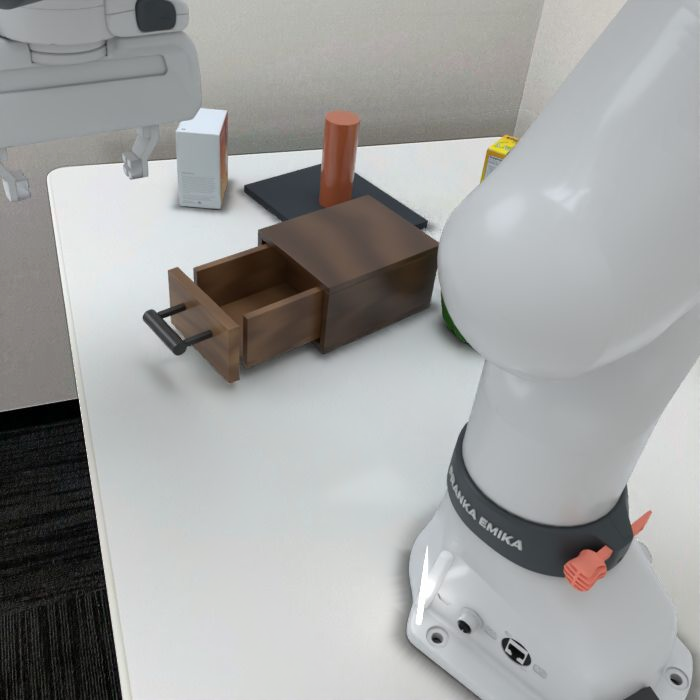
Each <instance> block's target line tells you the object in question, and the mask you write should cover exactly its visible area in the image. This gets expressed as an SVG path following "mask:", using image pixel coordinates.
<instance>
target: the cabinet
mask: <svg viewBox="0 0 700 700" xmlns="http://www.w3.org/2000/svg"><path fill="white" fill-rule="evenodd" d="M439 242H440V241H438V240H437V239H435V238H433V237H432V236H430V235H429V234H427V233H426V232H425V231H423V230H422V229H418V228H417V227H415V226H414V225H413V224H411V223H410V222H408V221H407V220H405V219H404V218H402V217H401V216H399V215H398V214H396V213H395V212H393V211H392V210H390V209H389V208H387V207H386V206H384V205H383V204H381V203H380V202H378V201H377V200H376V199H374V198H373V197H371V196H370V195H365V196H362V197H359V198H356V199H353V200H350V201H346V202H343V203H340V204H337V205H334V206H331V207H328V208H324V209H321V210H318V211H315V212H312V213H309V214H306V215H303V216H299V217H296V218H293V219H290V220H287V221H284V222H283V221H281V222H278V223H274V224H271V225H268V226H265V227H262V228H259V229H257V246H260V245H263V244H266V243H267V244H269V245H270V246H271V247H272V248H273V249H275V250H276V251H277V252H278V253H280V254H281V255H282V256H283V257H284V258H286V259H287V260H288V261H289V262H290V263H292V264H293V265H294V266H295V267H297V268H298V269H299V270H300V271H301V272H303V273H304V274H305V275H306V276H307V277H309V278H310V279H311V280H312V281H314V282H315V283H316V284H317V285H318V286H320V287H321V288H322V289H323V290H324V301H323V312H322V323H321V334H320V338H318V339H315V340H313V341H311V342H309V343H310V344H311V345H312V346H314V348H316V349H317V350H318V351H319V352H320V353H321V354H323V355H325V354H327V353H329V352H331V351H334V350H336V349H338V348H341V347H343V346H345V345H347V344H350V343H352V342H355V341H357V340H358V339H359V340H360V339H361V338H364V337H365V336H367V335H371V334H372V333H375V332H378V331H379V330H381V329H384V328H385V327H388V326H390V325H392V324H395V323H397V322H399V321H402V320H403V319H405V318H408V317H411V316H413V315H415V314H417V313H419V312H421V311H424V310H426V309H428V308H430V306H431V302H432V296H433V291H434V286H435V282H436V277H437V273H438V268H437V256H438V247H439Z"/></svg>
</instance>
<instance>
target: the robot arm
mask: <svg viewBox="0 0 700 700" xmlns="http://www.w3.org/2000/svg"><path fill="white" fill-rule="evenodd" d="M189 22H190V9H189V6H188V4H187V2H186V1H185V0H0V178H1V180H2V185H3V190H4V192H5V196H6V197H7V200H9V202H10V203H14V202H20V201H25V200H29V199H31V198H32V194H31V191H30V190H29V189H30V183H29V182H30V181H29V179H28V177H27V175H25V173H24V172H23V170H22V169H18V170H11V171H10V170H9V168H8V167H7V166H6V165H5V164H4V163H3V162H7V161H8V160H9V155H8V151H7V149H8V148H15V147H20V146H28V145H35V144H41V143H47V142H48V143H49V142H55V141H61V140H67V139H74V138H80V137H87V136H94V135H100V134H108V133H114V132H121V131H126V130H134V131H135V132H136V133H137V136H136V138H135V141H134V143H133V145H132V148H131V151H130V150H129V151H126V152H125V151H124V152H121V155H122V156H121V157H122V158H121V159H122V162H123V165H122V168H123V173H124V175H125V176H126V177H128V179H129V180H130V181H132V180H138V179H144V178H149V174H150V173H149V161H148V159H150V156H151V155H152V153H153V151H154V149H155V147H156V146H157V143H158V141H159V139H160V138H161V135H160V125H167V124H173V123H174V124H175V123H180V122H181V121H188V120H192V119H193V118H194V117H195V116H196V114H197V113H198V111H199V109H200V108H202V105H203V104H202V103H203V92H202V91H203V90H202V89H203V88H202V77H201V76H202V75H201V69H200V63H199V61H200V60H199V56H198V55H199V54H198V51H197V48H196V44H195V43H194V41H193V38H191V36H190V35H189V34H188V33H186V32H185V31H184V30H186V29H187V27H188V26H189V24H190V23H189ZM519 139H520V140H519V141H518V142H517V143H516V145H515V146H514V147H513V148H512V150H511V151H510V152H509V153H508V155H507V156H506V157H505V158H504V159H503V160H502V161H501V162H500V163H499V165H498V166H497V167H496V168H495V169H494V170H493V171H492V172H491V173H490V174H489V175H488V176H487V177H486V178H485V179H484V180H483V181H482V182H481V183H480V182H479V183H478V185H477V186H475V187H474V189H473V190H471V192H470V193H469V194H467V195H466V197H465V198H463V199H462V201H461V202H459V204H457V206H456V207H455V208H454V209H453V211H451V214H450V215H449V216H448V218H447V220H446V222H445V224H444V226H443V229H442V230H441V234H440V237H439V241H438V242H439V247H438V256H437V277H438V284H439V288H440V294H441V293H442V296H443V299H444V303H445V305H446V308H447V310H448V313H449V315H450V316H451V318H452V320H453V322H454V324H455V325H456V327H457V329H458V330H459V332H460V333H461V334H462V336H463V337H464V338H465V339H466V341H467V342H468V343H467V342H466V343H467V344H469V346H471V347H472V349H474V351H475V352H477V353H478V354H479V355H480V356H481V357H482V358H484V363H483V366H482V369H481V374H480V377H479V381H478V384H477V387H476V392H475V396H474V399H473V403H472V408H471V410H470V414H469V418H468V421H467V422H465V424H464V425H463V427H462V428H461V430H460V432H459V434H458V436H457V438H456V439H457V440H456V442H455V446H454V448H453V452H452V455H451V458H450V462H449V465H448V469H447V474H446V490H445V493H444V495H443V498H442V500H441V501H440V503H439V506H438V508H437V509H436V511H435V513H434V515H433V517H432V518H431V519H430V521H429V522H428V523H427V524H426V525H425V527H423V528H422V530H421V531H420V533H419V534H418V535H417V537H416V539H415V541H414V543H413V544H412V548H411V550H410V555H409V561H408V577H409V583H410V584H409V585H410V590H411V595H412V605H411V608H410V611H409V615H408V618H407V623H406V637H407V639H408V641H409V642H410V643H411V644H412V645H413V646H414V647H415V648H416V649H417V650H419V651H420V652H421V653H422V654H424V655H425V656H426V657H428V658H429V659H430V660H431V661H432V662H434V663H435V664H436V665H438V666H439V667H440V668H441V669H443V670H444V671H445V672H446V673H448V674H449V675H450V676H452V677H453V678H454V679H455V680H457V682H458V683H460V684H461V685H463V687H465V688H466V689H467V690H469V691H470V692H472V693H473V694H474V695H475V696H476V697H478V698H479V699H480V700H686V698H687V696H688V694H689V692H690V688H691V685H692V680H693V672H694V662H693V655H692V653H691V652H690V650H689V649H688V647H687V646H686V645H685V644H684V643H683V641H682V640H681V639H680V638H679V637H678V634H677V632H678V628H679V627H678V625H679V622H678V621H679V619H678V610H677V607H676V604H675V602H674V599H672V597H671V595H670V594H669V592H668V590H667V589H666V588H665V586H664V584H663V583H662V582H661V579H660V578H659V576H658V574H657V573H656V572H655V569H654V568H653V566H652V563H653V557H652V554H651V551H650V550H649V548H648V547H647V546H646V544H644V543H643V542H642V541H639V540H637V539H636V538H635V537H636V536H637V535H638V534H639V533H641V532H642V531H643V530H644V528H645V526H646V525H647V523H648V521H649V519H650V518H651V516H652V513H653V511H652V510H647V511H646V512H645V513H644V514H643V515H641V516H639V518H638V519H636V520H635V521H634V522H633V523H631V520H630V504H629V490H628V482H629V479H630V478H631V476H632V474H633V472H634V469H635V468H636V466H637V463H638V462H639V460H640V458H641V456H642V454H643V452H644V450H645V447H646V446H647V444H648V441H649V440H650V438H651V435H652V434H653V432H654V430H655V428H656V426H657V424H658V423H659V421H660V419H661V416H662V415H663V413H664V412H665V410H666V408H667V407H668V405H669V404H670V402H671V401H672V399H673V397H674V396H675V394H676V393H677V391H678V390H679V388H680V387H681V386H682V384H683V382H684V381H685V379H686V377H687V376H688V375H689V373H690V371H691V370H692V369H693V367H694V365H696V363H697V361H698V359H699V358H700V0H626V2H625V3H624V4H623V6H622V7H621V8H620V9H619V11H618V12H617V13H616V14H615V16H614V17H613V18H612V19H611V21H609V23H608V24H607V26H606V27H605V28H604V29H603V31H602V32H601V33H600V34H599V36H598V37H596V39H595V40H594V42H593V43H592V44H591V46H589V48H588V49H587V51H585V53H584V54H583V55H582V57H581V58H580V59H579V61H577V63H576V64H575V66H574V67H573V68H572V69H571V71H570V73H569V74H568V75H567V76H566V78H564V80H563V81H562V83H561V84H560V85H559V87H558V88H557V90H556V91H555V93H554V94H553V95H552V96H551V98H550V99H549V101H548V102H547V103H546V104H545V106H544V107H543V108H542V109H541V111H540V113H539V114H538V115H537V116H536V118H535V119H534V120H533V122H531V124H530V126H529V127H528V128H527V129H526V130H525V132H524V133H523V135H522V136H521V137H520V138H519ZM433 639H438V640H439V641H440V643H437V642H434V640H433ZM671 679H672V680H674V681H676V683H677V684H676V683H674V682H673V681H672V680H671Z"/></svg>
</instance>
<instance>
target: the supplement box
mask: <svg viewBox="0 0 700 700" xmlns="http://www.w3.org/2000/svg"><path fill="white" fill-rule="evenodd" d="M519 140H520V138H517V137H514V136H512V135H508V134H504V135H503V136H501V138H499V139H498V140H497V141H495V142H494V143H492V144H491V145H490V146H489V147H488V148H487V149H486V151H485V152H486V153H485V158H484V163H483V167H482V172H481V176H480V180H479V184H480V183H481V182H482V181H483V180H484V179H485V178H486V177H487V176H488V175H489V174H490V173H491V172H492V171H493V170H494V169H495V168H496V167H497V166H498V165H499V163H500V162H501V161H502V160H503V159H504V158H505V157H506V156H507V155H508V153H509V152H510V151H511V150H512V148H513V147H514V146H515V145H516V143H517V142H518V141H519Z"/></svg>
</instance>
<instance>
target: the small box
mask: <svg viewBox="0 0 700 700" xmlns="http://www.w3.org/2000/svg"><path fill="white" fill-rule="evenodd" d="M228 119H229V111H228V110H224V109H216V108H214V109H213V108H206V107H201V108H200V109H199V111H198V113H197V114H196V116H195V117H194V118H193V119H192V120H188V121H181V122H179V124H178V126H177V128H176V129H175V131H174V134H175V152H176V153H175V154H176V173H177V174H176V175H177V191H178V204H179V206H180V207H191V208H203V209H204V208H205V209H215V210H221V209H222V207H223V201H224V198H225V194H226V190H227V187H228V183H229V120H228Z"/></svg>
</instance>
